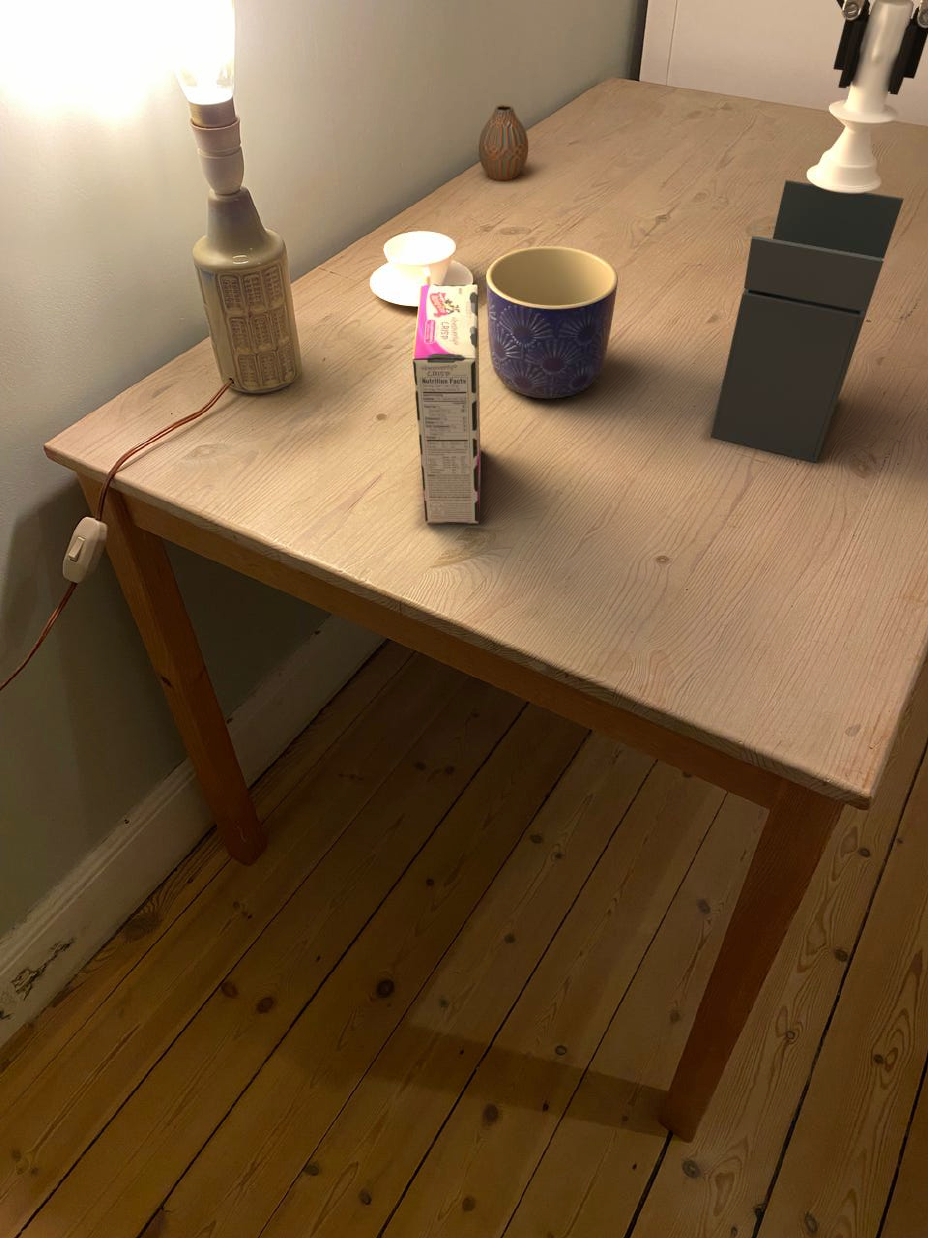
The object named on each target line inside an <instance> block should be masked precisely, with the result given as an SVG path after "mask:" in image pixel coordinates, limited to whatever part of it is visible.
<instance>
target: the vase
mask: <svg viewBox="0 0 928 1238" xmlns="http://www.w3.org/2000/svg"><path fill="white" fill-rule="evenodd" d="M528 138H529V137H528V135H527V131H526V128H525V127H524V125H523V124H522V122H521V121H520V119H519V118H518V116H517V115H516V112H515V110H514V107H513V106H512V105H509V104H500V105H497V106H495V108H494V111H493V113H492V115H491V116H490V118H489V119H488V121H486V123H485V125H484V126H483V128H482V130H481V132H480V136H479V141H478V158H479V162H480V164H481V167H482V169H483V170H484V173H486V175H488V177H490V178H491V179H493V180H496V181H509V180H513V179H516V178H517V176H519V175H520V173H521V172H523V170H524V168H525V166H526V164H527V160H528V156H529V139H528Z"/></svg>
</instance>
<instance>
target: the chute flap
mask: <svg viewBox="0 0 928 1238" xmlns="http://www.w3.org/2000/svg"><path fill="white" fill-rule="evenodd" d="M882 261H884V259H883V258H877V257H871V256H866V255H860V254H854V253H849V252H843V251H837V250H832V249H826V248H820V247H815V246H809V245H803V244H798V243H792V242H786V241H781V240H775V239H773V238H769V237H768V238H767V237H762V236H758V235H757V236H756V235H751V238H750V245H749V252H748V258H747V265H746V270H745V272H746V273H745V278H744V283H743V289H744V290H745V289H750V290H756V291H761V292H766V293H771V294H776V295H781V296H786V297H792V298H797V299H802V300H807V301H812V302H817V303H822V304H828V305H833V306H838V307H843V308H848V309H853V310H858V311H863V312H866V309H867V306H868V303H869V300H870V297H871V294H872V291H873V288H874V284H875V281H876V278H877V275H878V272H879V269H880V266H881V263H882Z"/></svg>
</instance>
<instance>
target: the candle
mask: <svg viewBox="0 0 928 1238" xmlns="http://www.w3.org/2000/svg"><path fill="white" fill-rule="evenodd" d="M914 7H915V4H914V1H913V0H875V1H874V2H873V4H872V6H871V8H870V11H869V14H870V15H869V18H868V22H867V26H866V30H865V33H864V37H863V40H862V44H861V48H860V56H859V60H858V63H857V67H856V70H855V74H854V78H853V81H852V83H851V85H850V87H849V88H850V89H849V92H848V96H847V99H841V100H836V101H834V102H832V103H831V104H830V105H829V107H828V110H829V112H830V114H831V115H833V117H835V118H836V119H837V120H838V121H839V122H840V123H841V124H842V125H843V126H845V127H844V129H843V131H842V133H841V134H840V136H839V137H838V139H837V140H836V141H835V143H834V144H833V146H831V148H830V149H828V150H826V151H824V152H823V154H822V156H821V158H820V159H819V162H818V164H815V165H813V166H811V167H810V168H809V169H808V170H807V171H806V177H807V179H808V181H809V182H810V184H814V185H816V186H818V187H820V188H823V189H826V190H829V191H833V192H839V193H849V194H857V193H871V192H873V191H875V190H877V189H878V188H879V187H880V186H881V185H882V178H881V177H880V175H879V174H878V173H877V172H876V169H877V163H878V162H877V158H876V157H875V155H873V150H872V141H871V133H872V130H873V129H876V128H879V127H881V126H883V125H886V124H888V123H892V122H893V121H895V120H896V119H897V118H898V117H899V112H898V110H897V109H896V108H894V107H893V106H891V105H889V104H887V103H886V102H887V98H888V96H889V92H888V87H889V84H890V80H891V77H892V73H893V70H894V67H895V63H896V60H897V56H898V53H899V49H900V46H901V43H902V39H903V36H904V32H905V29H906V27H907V26H908V25H909V23H910V19H911V18H912V17H913V13H914V12H913V11H914Z"/></svg>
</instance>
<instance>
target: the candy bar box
mask: <svg viewBox="0 0 928 1238" xmlns="http://www.w3.org/2000/svg"><path fill="white" fill-rule="evenodd" d="M478 287H479V286H478V284H472V285H441V286H439V285H436V284H432V285H424V286H420V292H419V305H418V306H417V307H418V308H417V316H416V323H415V324H416V325H415V334H414V342H413V351H412V366H413V368H412V369H413V379H414V389H415V390H414V391H415V393H414V395H415V397H414V398H415V406H416V419H417V430H418V431H417V432H418V440H419V441H418V442H419V443H418V444H419V451H420V453H419V454H420V465H421V478H422V479H421V480H422V493H423V505H424V506H423V507H424V519H425V520H424V521H425V523H426V524H430V525H452V524H453V525H454V524H455V525H456V524H461V525H478V524H480V512H481V511H480V509H481V508H480V507H481V506H480V505H481V470H482V469H481V468H482V467H481V465H482V464H481V459H482V458H481V455H482V453H481V450H482V449H481V447H482V445H481V412H480V411H481V408H480V406H481V405H480V401H481V400H480V343H479V342H480V333H479V331H480V329H479V326H480V325H479V322H480V321H479V288H478Z"/></svg>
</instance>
